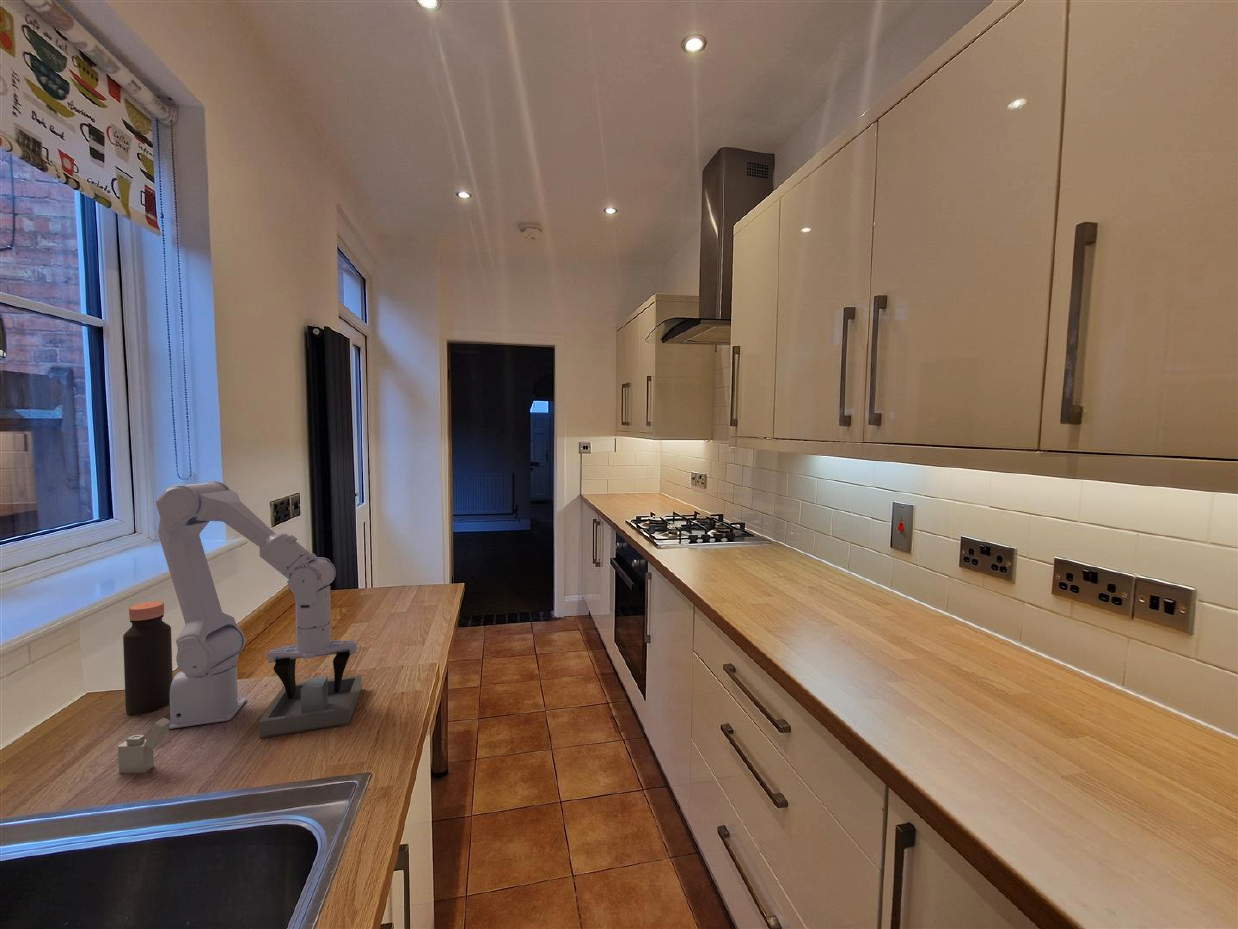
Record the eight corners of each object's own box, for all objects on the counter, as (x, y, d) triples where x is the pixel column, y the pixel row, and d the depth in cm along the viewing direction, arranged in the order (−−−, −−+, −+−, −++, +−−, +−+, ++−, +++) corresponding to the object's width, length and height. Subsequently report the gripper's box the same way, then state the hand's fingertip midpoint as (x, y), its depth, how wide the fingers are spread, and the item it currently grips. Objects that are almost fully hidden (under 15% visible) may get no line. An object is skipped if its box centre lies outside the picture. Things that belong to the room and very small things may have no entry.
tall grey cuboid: (301, 718, 93) (300, 689, 93) (307, 706, 97) (307, 678, 97) (322, 715, 94) (321, 686, 94) (328, 703, 98) (327, 676, 98)
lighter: (117, 773, 78) (115, 723, 78) (128, 766, 80) (126, 717, 79) (164, 772, 78) (162, 723, 78) (173, 765, 80) (172, 717, 80)
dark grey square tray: (259, 738, 87) (258, 722, 87) (284, 699, 101) (284, 685, 100) (349, 725, 92) (348, 709, 92) (361, 689, 105) (361, 675, 105)
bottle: (155, 695, 102) (152, 598, 101) (182, 699, 100) (179, 601, 99) (116, 713, 95) (112, 609, 94) (144, 717, 94) (140, 612, 93)
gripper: (261, 635, 89) (263, 710, 90) (352, 627, 94) (353, 697, 95) (274, 622, 96) (276, 691, 97) (358, 614, 101) (359, 680, 101)
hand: (315, 693), depth 96 cm, fingers open, 7 cm apart
